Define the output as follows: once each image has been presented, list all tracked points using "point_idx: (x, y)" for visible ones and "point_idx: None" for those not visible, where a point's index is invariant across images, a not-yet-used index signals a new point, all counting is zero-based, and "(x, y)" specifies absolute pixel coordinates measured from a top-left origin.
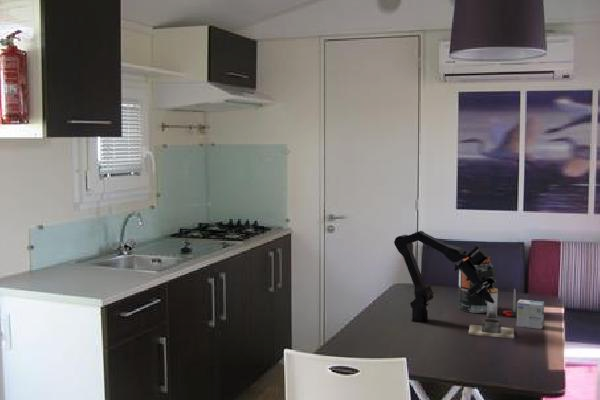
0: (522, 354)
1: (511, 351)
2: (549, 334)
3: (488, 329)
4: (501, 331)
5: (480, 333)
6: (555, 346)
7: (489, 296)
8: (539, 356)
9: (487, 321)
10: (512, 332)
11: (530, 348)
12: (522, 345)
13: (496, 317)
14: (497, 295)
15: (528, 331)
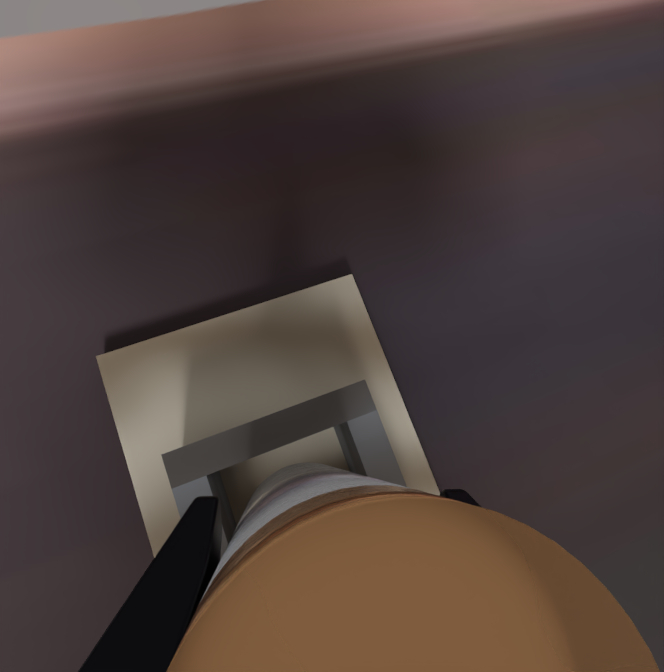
0: (658, 133)
1: (655, 203)
2: (52, 90)
3: None
4: (281, 409)
5: None
6: (352, 7)
7: None
8: (619, 47)
9: None
10: (253, 317)
11: (507, 123)
12: (479, 181)
13: (304, 462)
14: (342, 479)
15: (53, 245)
